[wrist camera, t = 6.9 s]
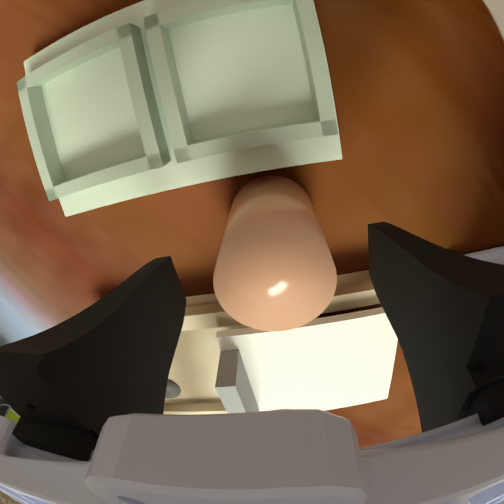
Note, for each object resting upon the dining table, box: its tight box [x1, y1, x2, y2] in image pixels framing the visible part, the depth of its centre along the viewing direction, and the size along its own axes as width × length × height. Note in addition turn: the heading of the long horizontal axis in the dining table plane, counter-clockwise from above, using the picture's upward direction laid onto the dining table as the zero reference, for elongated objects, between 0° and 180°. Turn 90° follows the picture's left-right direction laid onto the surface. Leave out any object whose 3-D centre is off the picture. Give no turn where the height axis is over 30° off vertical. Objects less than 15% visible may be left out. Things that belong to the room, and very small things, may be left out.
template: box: [163, 270, 380, 415], centre depth 19 cm, size 17×10×2 cm, turn 101°
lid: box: [215, 307, 398, 413], centre depth 16 cm, size 10×8×3 cm
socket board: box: [17, 0, 342, 217], centre depth 12 cm, size 14×9×2 cm, turn 101°
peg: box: [213, 175, 337, 331], centre depth 13 cm, size 4×4×6 cm
